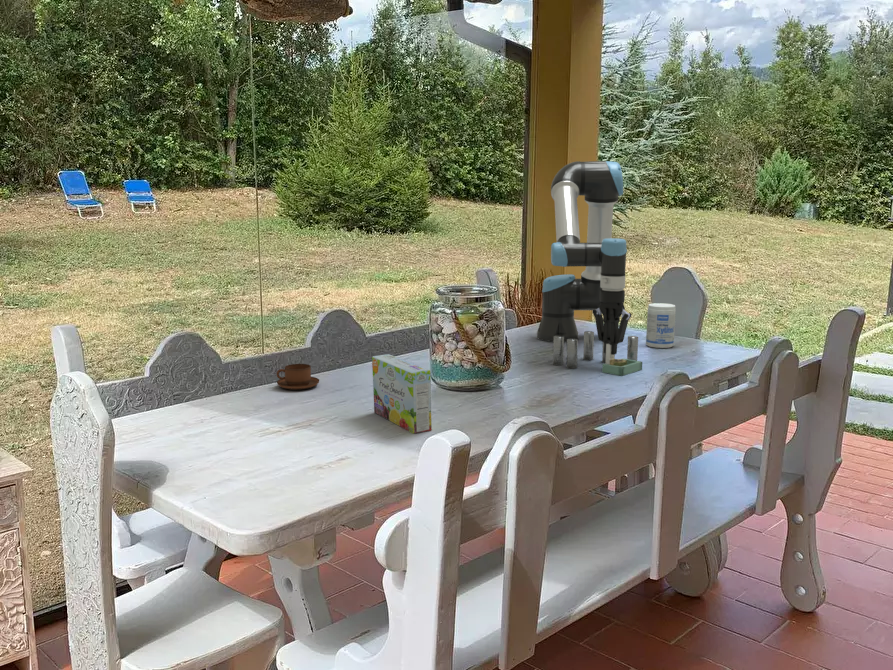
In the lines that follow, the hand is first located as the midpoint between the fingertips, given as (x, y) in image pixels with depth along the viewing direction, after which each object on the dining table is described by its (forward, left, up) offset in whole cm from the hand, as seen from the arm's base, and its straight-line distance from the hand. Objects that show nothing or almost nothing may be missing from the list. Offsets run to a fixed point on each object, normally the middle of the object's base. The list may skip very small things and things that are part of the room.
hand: (609, 364), depth 264 cm
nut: (+3, 0, -1) cm, 3 cm away
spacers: (-7, +1, -1) cm, 7 cm away
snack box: (-5, -84, -2) cm, 84 cm away
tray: (+5, 0, -1) cm, 5 cm away
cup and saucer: (-52, -81, -2) cm, 96 cm away
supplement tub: (-7, +42, -2) cm, 43 cm away
